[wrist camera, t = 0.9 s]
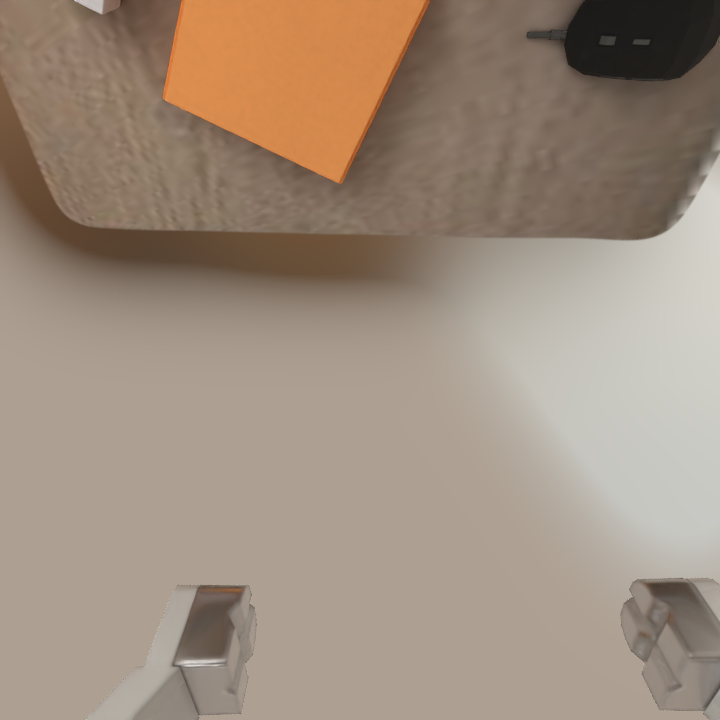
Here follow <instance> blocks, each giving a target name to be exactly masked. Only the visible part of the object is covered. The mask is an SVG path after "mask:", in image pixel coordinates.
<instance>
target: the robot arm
mask: <svg viewBox="0 0 720 720" xmlns="http://www.w3.org/2000/svg"><path fill="white" fill-rule="evenodd" d="M629 590H630V592H631V594H632V596H633V597H632V598H630V599H629V600H627V601H626V602H625V603H624V604H623V608H622V610H621V626H622V629H623V633H624V636H625V639H626V641H627V643H628V645H629V648H630V650H631V651H632V652H633V653H634V654H635V655H636V656H637V657H639V658H640V659H641V660H642V661H643V662H644V665H643V671H642V675H643V677H644V679H645V681H646V683H647V686H648V688H649V690H650V692H651V694H652V696H653V698H654V700H655V702H656V704H657V706H658V708H659V710H674V711H676V710H677V711H705V712H704V713H703V714H704V715H705V716H706V717H707V718H708V719H709V720H720V585H719V584H718V583H717V582H716V581H714V580H713V579H709V578H691V579H684V578H667V579H637V580H636V581H634V582H633V583H632V585H631V587H630V589H629ZM251 595H252V594H251V591H250V587H249V585H177V587H176V588H175V589H174V591H173V592H172V594H171V596H170V599H169V602H168V604H167V607H166V609H165V612H164V615H163V617H162V620H161V623H160V625H159V628H158V631H157V633H156V636H155V638H154V641H153V644H152V646H151V649H150V652H149V654H148V657H147V660H146V662H145V665H144V666H143V667H142V666H141V667H136V668H135V669H134V670H133V671H132V672H131V673H130V674H129V675H128V676H127V677H126V678H125V679H124V680H123V681H122V682H121V683H120V684H119V685H118V686H117V687H116V688H115V689H114V690H113V691H112V692H111V693H110V694H109V695H108V696H107V697H106V698H105V699H104V700H103V701H102V702H101V703H100V704H99V705H98V706H97V707H96V708H95V709H94V710H93V711H92V712H91V713H90V714H89V715H88V716H87V717H86V718H85V719H84V720H199V716H198V715H220V714H241V712H242V707H243V702H244V697H245V692H246V687H247V682H248V675H247V670H246V667H245V663H246V662H247V661H248V660H249V658H250V657H251V656H252V655H253V651H254V645H255V638H256V626H257V623H256V613H255V608H254V607H253V606H252V605H251V604H250V600H251Z"/></svg>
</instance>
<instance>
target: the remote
mask: <svg viewBox="0 0 720 720" xmlns="http://www.w3.org/2000/svg"><path fill="white" fill-rule="evenodd" d="M74 1H75V2H77V3H79V4H81V5H83V6H85V7H87V8H89V9H91V10H93V11H95V12H97V13H99V14H101V15H103V14H106V13H108V12H110V11H112V10H114V9H117V8H119V7H120V2H121V0H74Z"/></svg>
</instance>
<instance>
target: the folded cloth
mask: <svg viewBox="0 0 720 720" xmlns="http://www.w3.org/2000/svg"><path fill="white" fill-rule="evenodd" d="M429 3H430V0H181V5H180V11H179V16H178V21H177V26H176V31H175V36H174V42H173V47H172V52H171V57H170V62H169V67H168V72H167V78H166V83H165V88H164V93H163V99H165V101H167V102H169V103H171V104H173V105H175V106H177V107H180V108H182V109H184V110H186V111H188V112H190V113H192V114H194V115H196V116H198V117H201V118H203V119H205V120H207V121H209V122H211V123H213V124H215V125H217V126H219V127H221V128H224V129H226V130H228V131H230V132H232V133H234V134H236V135H238V136H240V137H242V138H245V139H247V140H249V141H251V142H253V143H255V144H257V145H259V146H261V147H263V148H265V149H268V150H270V151H272V152H274V153H276V154H278V155H280V156H282V157H284V158H286V159H289V160H291V161H293V162H295V163H297V164H299V165H301V166H303V167H305V168H307V169H310V170H312V171H314V172H316V173H318V174H320V175H322V176H324V177H326V178H328V179H330V180H333V181H335V182H337V183H341V184H342V182H343V180H344V178H345V176H346V174H347V172H348V170H349V168H350V166H351V164H352V162H353V160H354V157H355V155H356V153H357V151H358V149H359V147H360V145H361V143H362V141H363V139H364V137H365V135H366V133H367V131H368V129H369V126H370V124H371V122H372V120H373V118H374V116H375V114H376V112H377V110H378V108H379V106H380V104H381V102H382V100H383V98H384V95H385V93H386V91H387V89H388V87H389V85H390V83H391V81H392V79H393V77H394V75H395V73H396V71H397V69H398V67H399V65H400V62H401V60H402V58H403V56H404V54H405V52H406V50H407V48H408V46H409V44H410V42H411V40H412V38H413V36H414V34H415V31H416V29H417V27H418V25H419V23H420V21H421V19H422V17H423V15H424V13H425V11H426V9H427V7H428V5H429Z"/></svg>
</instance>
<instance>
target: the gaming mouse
mask: <svg viewBox="0 0 720 720" xmlns="http://www.w3.org/2000/svg"><path fill="white" fill-rule="evenodd" d="M719 34H720V0H585V1H584V2H583V4H582V5H581V7H580V8H579V10H578V12H577V13H576V15H575V17H574V18H573V20H572V21H571V23H570V25H569V27H568V31H567V32H566V30H562V31H560V30H551V32H528V33H527V38H549V40H558V39H559V38H560V39H565V38H566V40H565V44H564V47H565V52H566V56H567V60H568V65H570V66H571V67H573V68H574V69H576V70H577V71H579V72H581V73H582V74H584V75H591V76H597V77H604V78H613V79H626V80H639V81H663V80H672V79H676V78H680V77H681V76H683V75H684V74H685V73H686V72H688V71H689V70H690V69H692V68H693V67H694V66H695V65H697V64H698V63H699V62H700V61H701V60H702V59H703V58H704V57H705V55H706V54H707V53H708V52H709V51H710V50H711V49H712V48H713V47H714V46H715V44H716V42H717V39H718V37H719Z"/></svg>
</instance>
